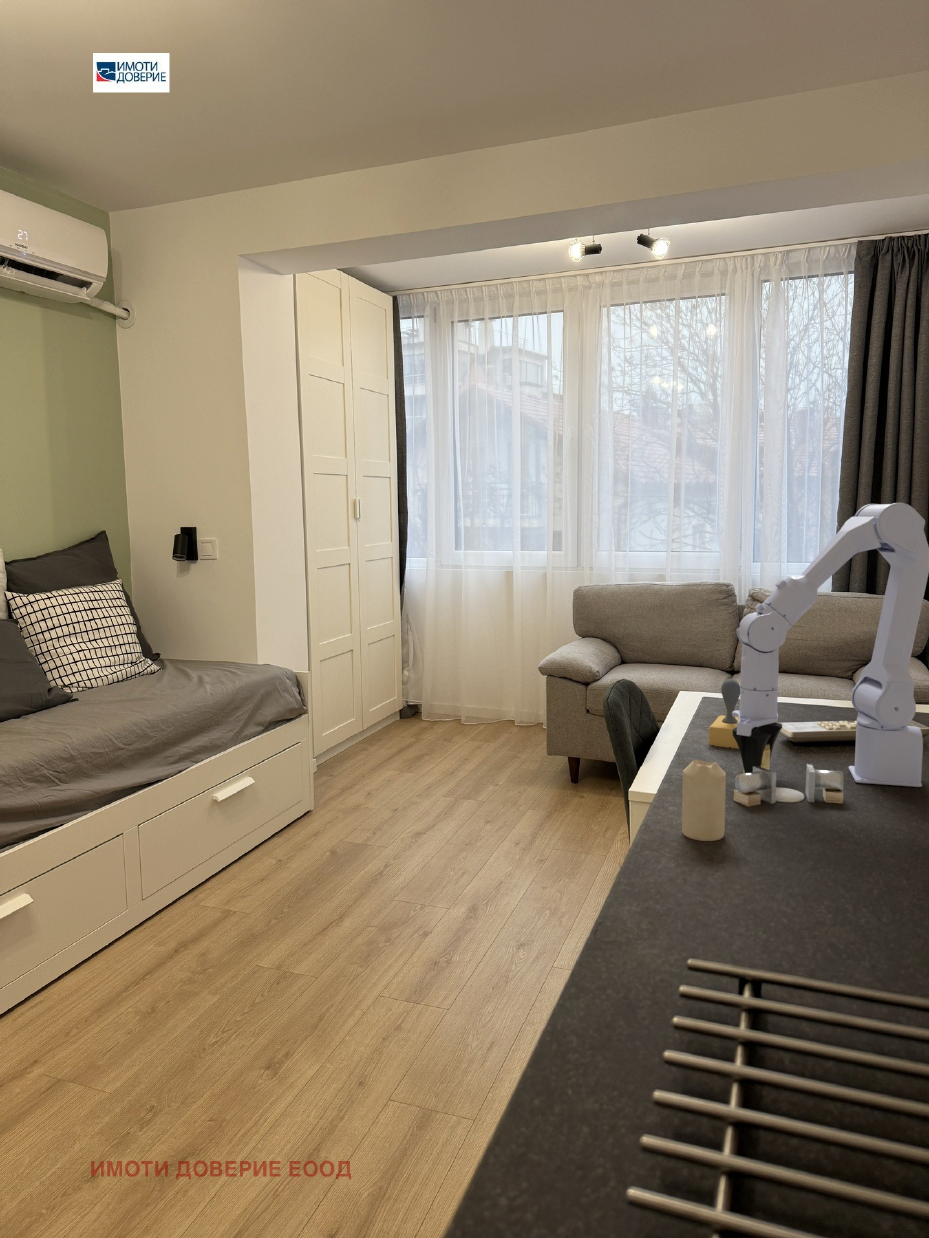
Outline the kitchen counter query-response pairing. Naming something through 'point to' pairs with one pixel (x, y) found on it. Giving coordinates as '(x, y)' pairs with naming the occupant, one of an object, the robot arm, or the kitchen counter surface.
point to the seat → (788, 795)
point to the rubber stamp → (726, 717)
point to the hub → (765, 758)
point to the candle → (703, 801)
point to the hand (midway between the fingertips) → (756, 769)
